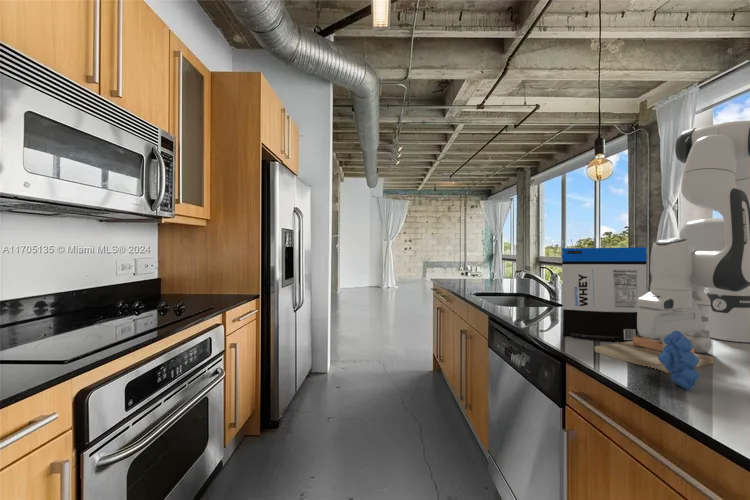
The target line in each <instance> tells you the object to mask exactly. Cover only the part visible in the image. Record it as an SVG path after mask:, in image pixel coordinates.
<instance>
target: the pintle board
mask: <svg viewBox="0 0 750 500" xmlns="http://www.w3.org/2000/svg"><path fill="white" fill-rule="evenodd" d="M636 336H638V337H643V336H640V335H639V333H638V334H636ZM647 339H652V340H656V341H661V339H660V338H647ZM594 352H595V353H598V354H601V355H605V356H607V357H611V358H615V359H619V360H621V361H626V362H629V363H631V364H636V365H639V366H642V365H643V367H645V366H648V367H647V368H649V367H651V368H650V369H652V368H655V369H654V370H656V369H658V370H657V371H659V370H661V371H660V372H663V371H664V372H663V373H666V374H669V373H671V372H669V371H668V370H667V369H666V367H665V365H663V364H662V363H661V362H660V361H659V359H658V357H659V355H660V354H661V353H662V351H659V350H655V349H651V348H647V347H643V346H636V345H633V341H628V342H614V343H609V344H604V345H595V346H594ZM694 355H695V356H697V357H698V359H699V362H698V364H697V365H696V366H695V367H694V368H698V367H703V366H708V365H714V364H715V362H714V361H715V358H714V357H712V356H708V355H703V354H701V353H694Z"/></svg>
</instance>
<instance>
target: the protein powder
mask: <svg viewBox="0 0 750 500" xmlns="http://www.w3.org/2000/svg"><path fill="white" fill-rule="evenodd" d="M561 251H562V255H561V258H562V259H561V260H562V262H561V263H562V266H561V267H562V269H561V272H562V273H561V274H562V276H561V278H562V279H561V281H562V307H563V308H562V336H563V337H568V338H571V339H572V338H573V339H577V340H584V341H591V342H603V343H604V342H605V343H622V342H628V341H633V336H636V334H638V330H637V313H638V310H639V308H640V307H639V306H637V299H638V298H640V297H642V296H643V295H645V294H646V293H647V252H646V251H647V247H644V246H643V247H583V248H582V247H579V248H578V247H571V248H570V247H567V248H565V247H562V248H561Z"/></svg>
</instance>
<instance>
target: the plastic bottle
mask: <svg viewBox="0 0 750 500" xmlns="http://www.w3.org/2000/svg"><path fill="white" fill-rule="evenodd" d="M691 286H692V285H691ZM705 289H706V287H699V286H692V298H693V299H694V300H695V301H696V302H697V306H698V307H699V309H700V314H701V325H702V327H701V330H700V332H696V333H689V334H683V335H684V336H685V337H686V338H687V339H688V340H689V341H690V342H691V343H692V344H693V345H694V346H693V348H694V353H695V354H706V353H707V354H708V353H710V351H711V350H712V345H713V343H712V338H711V337H709V336H710V335H709V327H708V320H709V311H710V305H711V301H710V299H709V297H708V296H707V293H706V292H705V291H704V290H705Z"/></svg>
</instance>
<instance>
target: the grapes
mask: <svg viewBox="0 0 750 500" xmlns="http://www.w3.org/2000/svg"><path fill="white" fill-rule="evenodd" d="M664 342H665V343H666V344H667V346H665V347H664V349H663V351H662V353H661V354H660V355H659V357H658V359H659V361H660V362H661V363H662V364H663V365H665V367H666V369H667V370H668V371H669V372H670V373H671V376H670V380H672V382H673V383H674V384H675V385H677V386H678V387H681V388H683V389H684V390H686V391H690V390H692V389H693V388H694V386H695V385H696V383H697V381H698V380H699V379H700V376H701V374H700V372H699V371H697V370H696V369H695V368H696V367H695V366H696V365H697V364H698V362H699V359H698V357H697V356H695V355H694V354H693V353H692V352H690V351H691V350H692V348H693V346H694V345H693V344H692V343H691V342H690V341H689V340H688V339H687V338H686V337H685V336H684V335H683V334H682V333H681V332H679V331H673V332H672V333H671V334H668V335H667V336H666V337H665V339H664Z"/></svg>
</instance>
